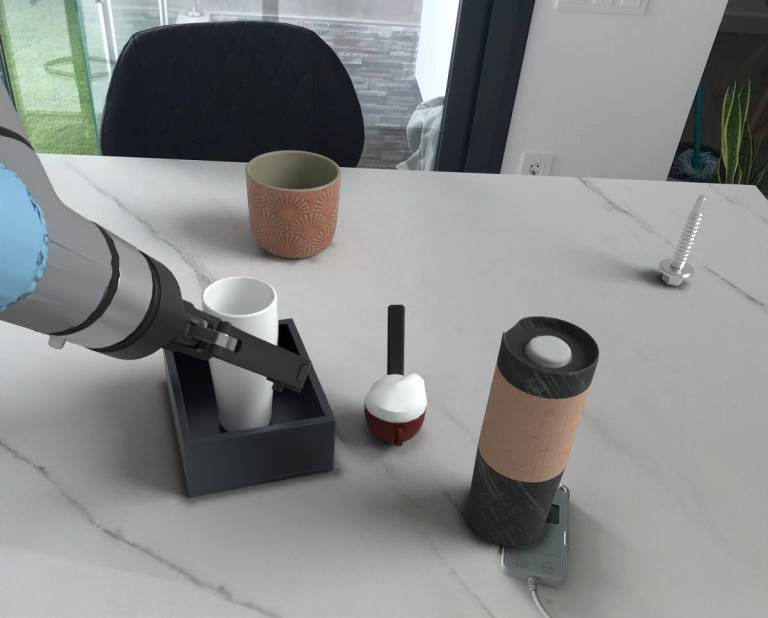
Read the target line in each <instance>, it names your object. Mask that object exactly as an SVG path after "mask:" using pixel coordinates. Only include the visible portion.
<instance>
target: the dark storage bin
mask: <svg viewBox="0 0 768 618" xmlns="http://www.w3.org/2000/svg"><path fill="white" fill-rule="evenodd" d="M198 340H199V342H198V343H197V344H196V345H193V346H189V345H184V346H186V347H189V348H191V349H194V350H197V349H198V348H199V346H200V343H201V341H202V340H200V339H198ZM176 343H177V342H176ZM178 344H180V343H178ZM181 345H183V344H181ZM277 346H278V347H281V348H283V349H285V350H288V351H290V352H292V353H295V354H297V355H299V356H305V357H307V358H308V359H310V360H311V358H310V356H309V353H308V351H307V349H306V347H305V344H304V342H303V339H302V336H301V335H300V332H299V330H298V328H297V326H296V323H295V321H294V319H293V318H292V317H290V318H283V319H278V343H277ZM162 354H163V355H162V356H163V362H164V371H165V378H166V385H167V391H168V396H169V401H170V404H171V405H170V406H171V411H172V417H173V420H174V426H175V430H176V436H177V440H178V445H179V446H178V447H179V452H180V456H181V461H182V465H183V471H184V475H185V481H186V484H187V485H186V486H187V491H188V496H189V498H194V497H201V496H204V495H210V494H216V493H221V492H227V491H231V490H236V489H242V488H246V487H247V488H248V487H253V486H258V485H262V484H268V483H274V482H278V481H284V480H290V479H294V478H300V477H305V476H311V475H317V474H321V473H326V472H331V471H334V464H335V463H334V462H335V446H336V444H335V442H336V427H337V418H336V417H335V415H334V414H335V413H334V412H333V409H332V407H331V405H330V403H329V400H328V398H327V396H326V393H325V390H324V388H323V386H322V383H321V381H320V379H319V377H318V374H317V371H316V370H315V368H314V365H313V362H312V363H311V366H310V369H309V371H308V374H307V377H306V379H305V382H304V385H303V387H302V390H301V393H298V392H295V391H292V390H290V389H287V388H285V387H283V390H282V392H278V391H275V390H273V397H272V419H271V422H270V424H269V425H268V426H262V427H256V428H250V429H244V430H238V431H232V432H227V431H226V430H225V429H223V427H222V426H221V425H220V423H219V420H218V411H217V403H216V397H215V391H214V386H213V381H212V376H211V370H210V365H209V360H207V361H206V360H202V359H199V358H196V357H193V356H190V355H188V354H185V353H182V352H180V351H177V352H171V351H168V350H165V349H162Z"/></svg>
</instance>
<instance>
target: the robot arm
mask: <svg viewBox="0 0 768 618" xmlns="http://www.w3.org/2000/svg"><path fill="white" fill-rule="evenodd" d="M181 290H182V289H181V287H180V285H179V281H178V280H177V278H176V276H175V274H174V273H173V272H172V271H171V269H169V268H168V267H167V266H166V265H165V264H164V263H162V262H160V260H157V259H156V258H154V257H153V256H151V255H149V254H148V253H146V252H144V251H142V250H140V249H139V248H137V247H136V246H135V245H133V244H132V243H131V242H128V241H127V240H125V239H124V238H122V237H120V236H119V235H117V234H115V233H114V232H112V231H110V230H109V229H107V228H105V227H104V226H102V225H100V224H99V223H97V222H96V221H92V220H90V219H88V218H86V217H84V216H83V215H82V214H80V213H78V212H77V211H75V210H73V209H72V208H70V206H68V205H66V204H65V203H64V202H63V201H62V199H60V197H59V196H58V194H57V192H56V191H55V189H54V186H53V185H52V183H51V180H50V177H49V176H48V173H47V171H46V169H45V168H44V165H43V163H42V161H41V159H40V157H39V156H38V154H37V153H36V151H35V148H34V147H33V146H32V143H31V141H30V139H29V137H28V135H27V132H26V130H25V128H24V125H23V123H22V121H21V118H20V116H19V114H18V111H17V110H16V107H15V106H14V103H13V101H12V98H11V96H10V94H9V92H8V90H7V85H6V81H5V79H4V76H3V74H2V72H1V71H0V321H2V322H5V323H9V324H12V325H15V326H18V327H20V328H21V327H22V328H25V329H28V330H31V331H34V332H36V333H40V334H42V335H47V336H49V337H48V342H47V344H48V346H49V347H50V348H53V349H55V350H62V349H64V347H65V344H66V342H67V343H70V344H73V345H76V346H79V347H83V348H85V349H87V350H89V351H92V352H95V353H97V354H101V355H104V356H106V357H107V356H108V357H111V358H112V359H117V360H122V361H136V360H140V359H145V358H147V357H149V356H151V355H153V354H155V353H156V352H158V351H159V350H163V349H165V350H168V351H171V352H177V351H180V352H182V353H185V354H188V355H190V356H193V357H196V358H199V359H202V360H206V361H207V360H209V359H211V358H212V357H214V358H217V359H219V360H222V361H225V362H227V363H230V364H233V365H235V366H238V367H241V368H243V369H246V370H248V371H251V372H254V373H256V374H259V375H262V376H264V377H267V378H266V380H268V381H271V382H273V386H272V388H271V389H273V390H275V391H278V392H282V390H283V387H285V388H287V389H290V390H292V391H295V392H298V393H301V390H302V387H303V385H304V382H305V379H306V377H307V374H308V371H309V369H310V366H311V363H312V364H313V362H312V359H311V358H310V359H308V358H307V357H305V356H299V355H297V354H295V353H292V352H290V351H288V350H285V349H283V348H281V347H278V346H276V345H274V344H272V343H269V342H267V341H265V340H262V339H260V338H258V337H256V336H253V335H251V334H249V333H246V332H244V331H242V330H240V329H238V328H236V327H234V326H232V325H231V323H230V322H227V321H222V319H220V318H218V317H216V316H213V315H211V314H208V313H206V312H203V311H202V309H198V308H196V307H195V304H193V303H192V302H191V301H189V300H186V299H183V295H182V291H181ZM202 319H203V320H205V321H206V322H207V328H206V327H205V324H204V321H203V320H202ZM198 339H200V340H202V341H201V343H200V346H199V348H198V349H197V350H194V349H191V348H189V347H186V346H184V345H189V346H193V345H196V344H197V343H198V342H199V340H198ZM176 342H177V343H176ZM178 343H180V344H178ZM181 344H183V345H181Z"/></svg>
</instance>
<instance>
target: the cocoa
mask: <svg viewBox="0 0 768 618" xmlns="http://www.w3.org/2000/svg"><path fill="white" fill-rule="evenodd" d="M405 323H406V306H405V305H404V304H389V305H388V306H387V329H386V330H387V331H386V333H387V337H386V342H387V343H386V374H384V375H382V376H381V377H380V378H379V379H377V380H376V381H374V382H373V383H372V385H371V387H370V389H369V391H368V392H367V393H366V394H365V396H364V400H363V404H364V405H363V408H364V409H363V413H364V418H365V422H366V425H367V427H368V430H369V431H370V433H371V434H372V435H373V436H374V437H376V438H377V439H379V440H380V441H382V442H387V443H390V444H393V445H394V446H395V447H402V446H403V444H404V442H407V441H410V440H411V439H413V438H414V437H415V436H416V435H417V434H418V433H419V432H420V431H421V428H422V427H423V424H424V422H425V417H426V412H427V405H428V401H427V394H426V387H425V380H424V378H422V377H421V375H419V374H418V373H414V372H412V373H408V374H405V337H406V335H405V332H406V331H405V329H406V326H405V325H406V324H405Z"/></svg>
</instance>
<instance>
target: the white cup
mask: <svg viewBox="0 0 768 618" xmlns="http://www.w3.org/2000/svg"><path fill="white" fill-rule="evenodd" d="M278 306H279V305H278V294H277V291H276V290H275V288H274V287H273V286H272V285H271V284H269V283H268V282H266V281H265V280H262V279H261V278H260V279H259V278H256V277H252V276H245V275H244V276H241V275H240V276H238V275H236V276H228V277H224V278H220V279H218V280H216V281H215V280H214V281H213V282H211V283H210V284H209V285H207V286H206V287H205V289H204V290H203V291H202V294H201V311H203V312H206V313H208V314H211V315H213V316H216V317H218V318H220V319H222V321H227V322H230V323H231V325H232V326H234V327H236V328H238V329H240V330H242V331H244V332H246V333H249V334H251V335H253V336H256V337H258V338H260V339H262V340H265V341H267V342H269V343H272V344H274V345H276V346H277V343H278V320H279V307H278ZM202 320H203V319H202ZM203 321H204V324H205V327H206V328H207V322H206V321H205V320H203ZM209 365H210V370H211V376H212V381H213V386H214V391H215V397H216V403H217V411H218V420H219V423H220V425H221V426H222V427H223V429H225V430H226V431H227V432H232V431H238V430H244V429H250V428H256V427H262V426H268V425H269V424H270V422H271V419H272V397H273V389H271V388H272V386H273V382H271V381H268V380H266V378H267V377H264V376H262V375H259V374H256V373H254V372H251V371H248V370H246V369H243V368H241V367H238V366H235V365H233V364H230V363H227V362H225V361H222V360H219V359H217V358H214V357H212V358H211V359H209Z"/></svg>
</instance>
